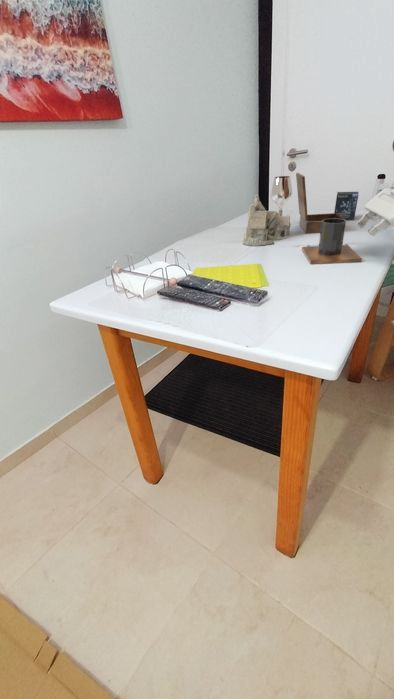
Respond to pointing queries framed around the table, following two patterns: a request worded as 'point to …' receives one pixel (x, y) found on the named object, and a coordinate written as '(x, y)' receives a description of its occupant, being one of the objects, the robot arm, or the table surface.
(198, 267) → the table surface
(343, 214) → the box
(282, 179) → the wineglass
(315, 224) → the bread box
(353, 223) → the table surface
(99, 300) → the table surface
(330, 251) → the dark grey cup
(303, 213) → the bread box lid
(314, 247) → the board
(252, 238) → the ceramic cottage
